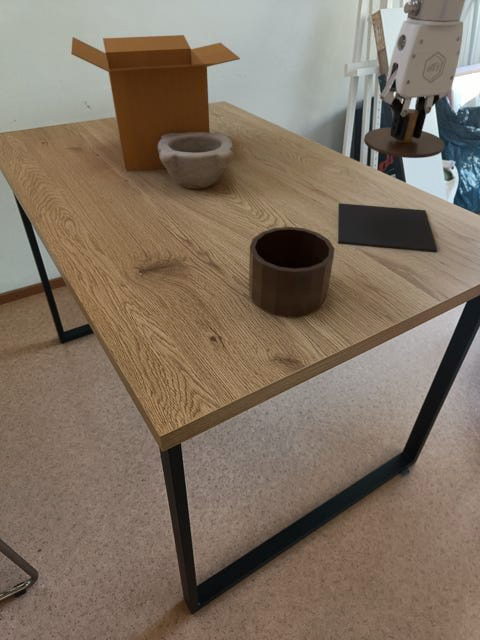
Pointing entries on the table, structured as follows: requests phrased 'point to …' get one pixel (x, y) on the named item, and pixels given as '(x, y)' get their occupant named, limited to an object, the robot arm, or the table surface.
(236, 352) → the table surface
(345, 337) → the table surface
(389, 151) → the tin lid
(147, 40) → the box
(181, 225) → the table surface
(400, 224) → the mat
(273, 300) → the tin
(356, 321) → the table surface
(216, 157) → the mortar
